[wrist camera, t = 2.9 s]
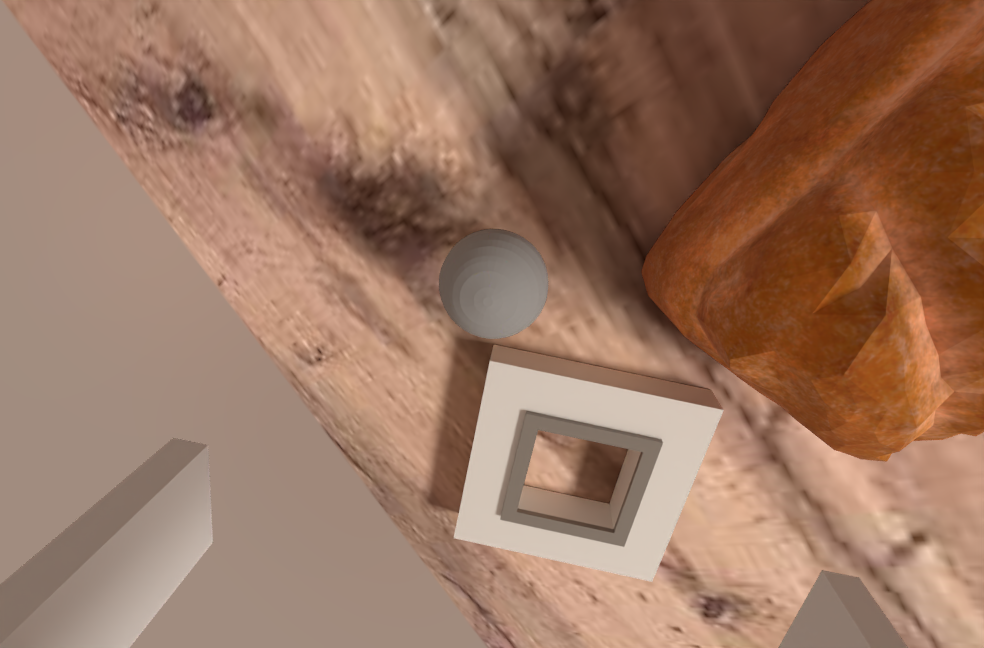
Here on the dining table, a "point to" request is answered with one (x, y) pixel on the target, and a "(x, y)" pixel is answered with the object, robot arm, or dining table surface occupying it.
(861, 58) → the bread
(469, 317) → the light bulb
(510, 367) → the socket block
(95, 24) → the dining table surface
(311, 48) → the dining table surface
